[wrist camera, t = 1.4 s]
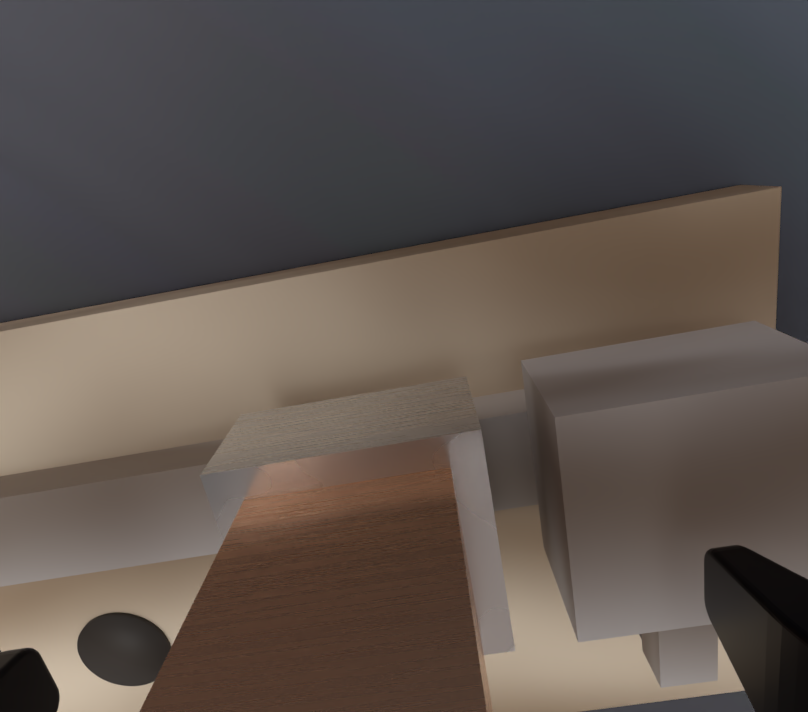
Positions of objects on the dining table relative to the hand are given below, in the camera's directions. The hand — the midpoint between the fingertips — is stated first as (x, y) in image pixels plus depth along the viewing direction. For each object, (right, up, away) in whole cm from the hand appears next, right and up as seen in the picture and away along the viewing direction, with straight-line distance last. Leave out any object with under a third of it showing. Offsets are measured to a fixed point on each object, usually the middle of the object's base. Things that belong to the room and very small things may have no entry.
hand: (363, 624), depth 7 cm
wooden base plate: (-1, 0, +6) cm, 6 cm away
